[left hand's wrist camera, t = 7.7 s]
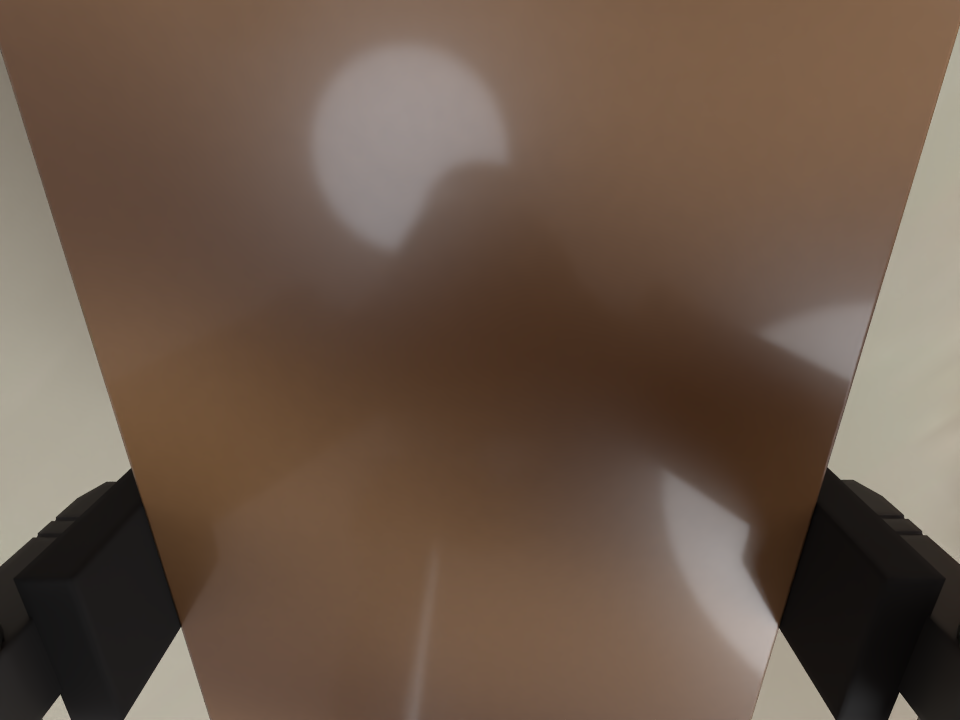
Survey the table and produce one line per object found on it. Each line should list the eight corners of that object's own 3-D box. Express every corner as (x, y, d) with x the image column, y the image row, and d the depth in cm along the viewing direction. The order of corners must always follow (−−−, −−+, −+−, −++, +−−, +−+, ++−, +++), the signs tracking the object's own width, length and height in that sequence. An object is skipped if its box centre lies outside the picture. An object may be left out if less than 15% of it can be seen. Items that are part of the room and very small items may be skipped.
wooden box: (213, -269, 11) (-372, -1123, 3) (741, -273, 11) (1317, -1147, 3) (321, 474, 18) (209, 723, 11) (639, 473, 18) (752, 722, 10)
